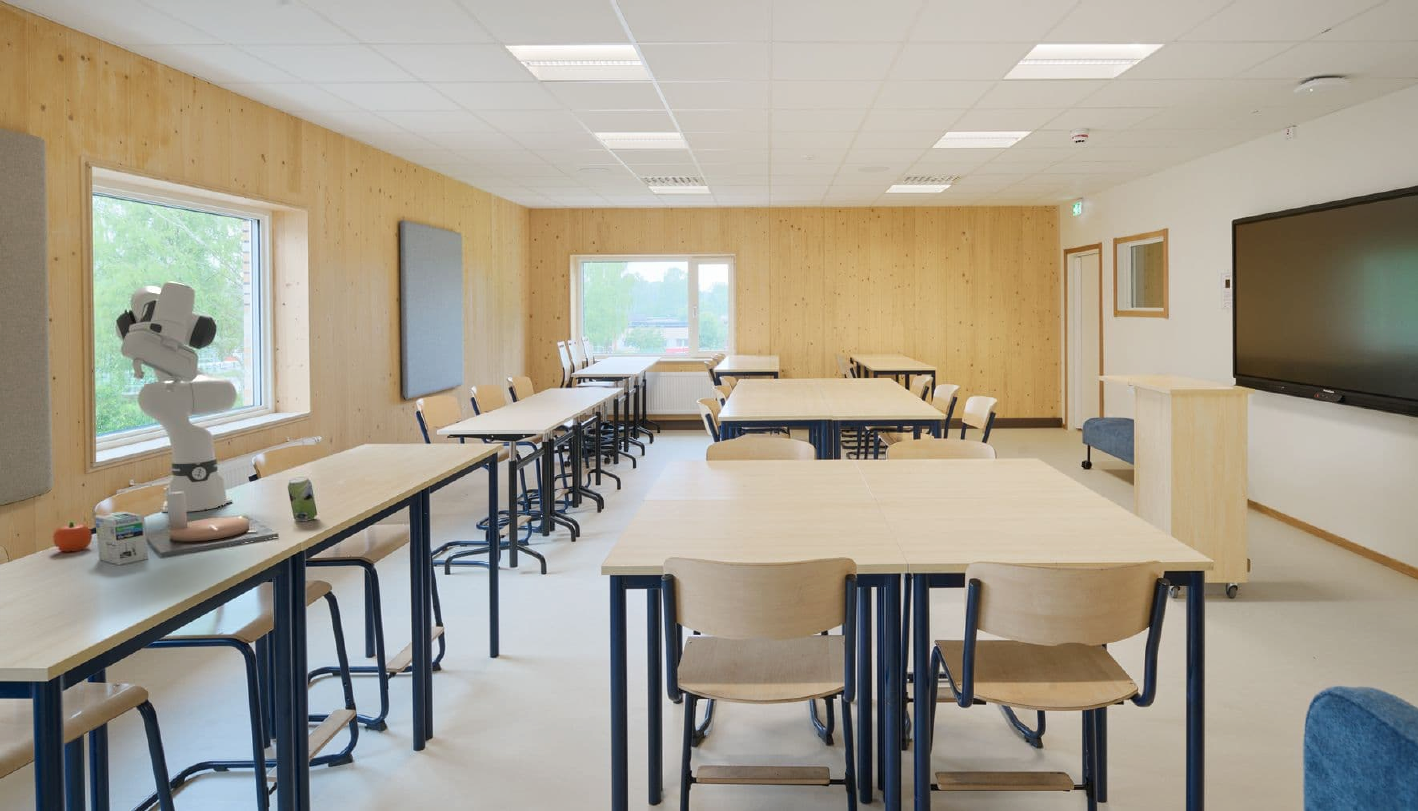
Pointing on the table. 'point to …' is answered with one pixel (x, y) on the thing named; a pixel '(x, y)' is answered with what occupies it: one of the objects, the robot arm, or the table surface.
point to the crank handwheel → (199, 523)
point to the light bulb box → (121, 537)
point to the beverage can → (302, 499)
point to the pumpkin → (72, 537)
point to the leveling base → (171, 547)
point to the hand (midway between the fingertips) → (154, 384)
